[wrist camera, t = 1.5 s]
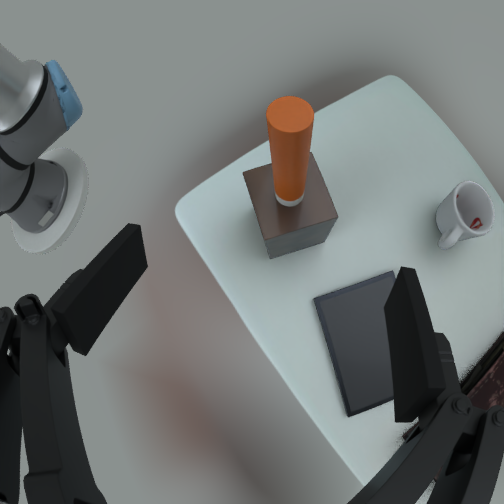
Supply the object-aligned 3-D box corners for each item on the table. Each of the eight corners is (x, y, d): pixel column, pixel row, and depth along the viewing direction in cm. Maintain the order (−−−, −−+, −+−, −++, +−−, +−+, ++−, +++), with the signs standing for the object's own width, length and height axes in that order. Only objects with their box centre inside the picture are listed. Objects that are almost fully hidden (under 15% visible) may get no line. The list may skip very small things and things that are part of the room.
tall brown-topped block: (270, 259, 42) (264, 240, 30) (253, 207, 44) (242, 171, 32) (324, 241, 42) (338, 217, 30) (305, 191, 43) (311, 151, 32)
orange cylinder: (280, 210, 31) (275, 137, 17) (271, 184, 31) (260, 102, 18) (307, 201, 31) (321, 125, 17) (298, 176, 31) (303, 91, 18)
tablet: (346, 415, 37) (348, 417, 36) (313, 298, 40) (313, 298, 39) (420, 384, 36) (423, 385, 35) (390, 271, 40) (393, 270, 39)
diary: (531, 392, 32) (547, 396, 27) (440, 488, 31) (451, 501, 26) (503, 324, 36) (520, 324, 31) (398, 432, 35) (410, 444, 30)
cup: (445, 270, 39) (473, 263, 31) (411, 235, 40) (434, 220, 33) (475, 222, 39) (501, 208, 32) (443, 189, 41) (467, 169, 33)
